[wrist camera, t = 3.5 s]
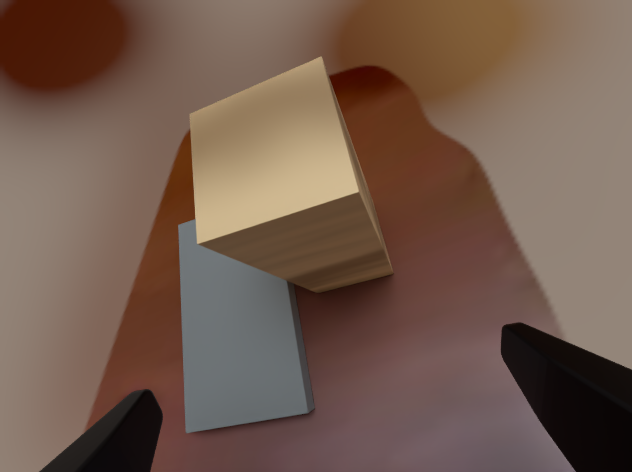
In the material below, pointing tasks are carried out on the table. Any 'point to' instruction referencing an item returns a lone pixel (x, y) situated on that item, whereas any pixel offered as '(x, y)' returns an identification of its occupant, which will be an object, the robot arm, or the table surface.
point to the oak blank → (286, 184)
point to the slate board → (238, 341)
